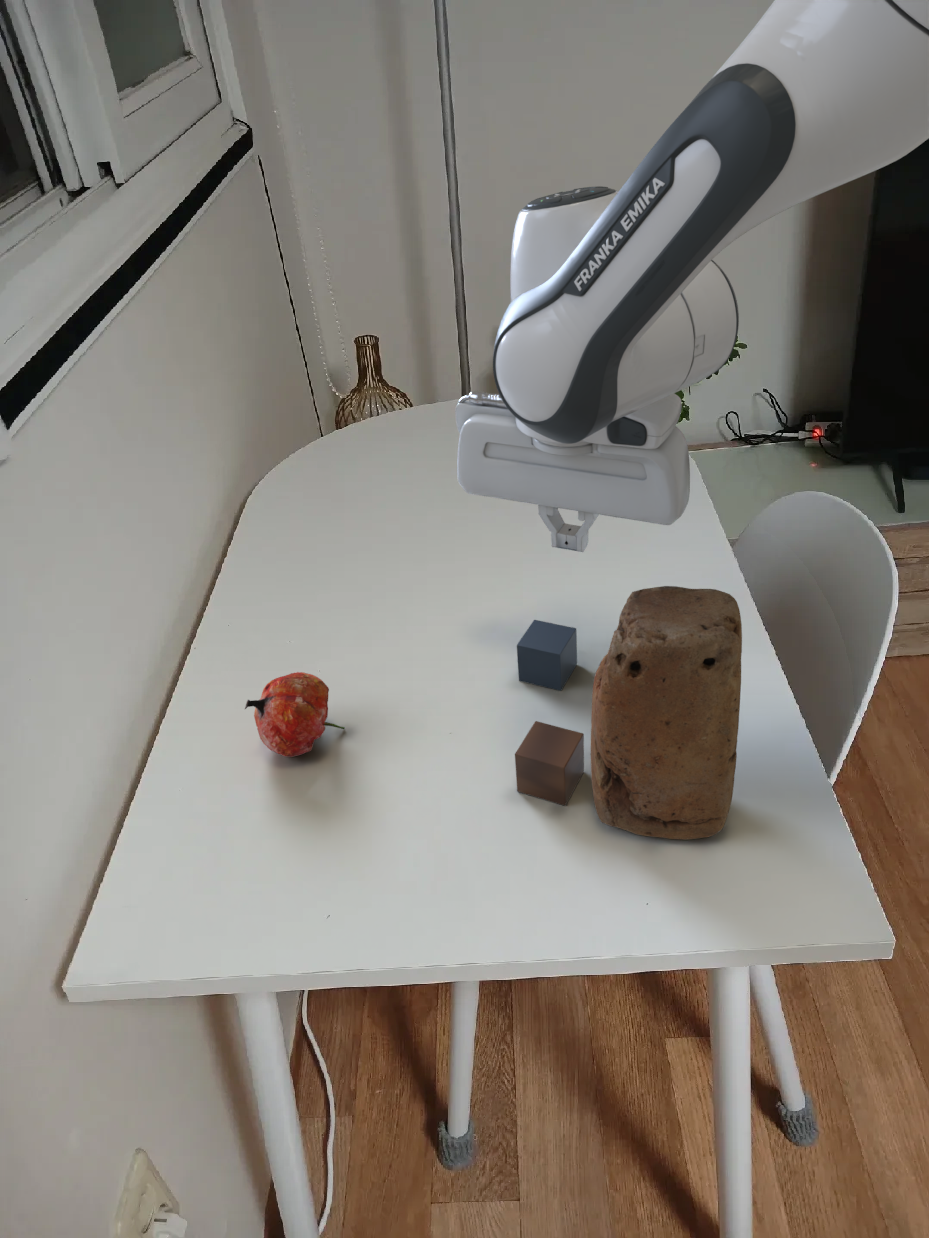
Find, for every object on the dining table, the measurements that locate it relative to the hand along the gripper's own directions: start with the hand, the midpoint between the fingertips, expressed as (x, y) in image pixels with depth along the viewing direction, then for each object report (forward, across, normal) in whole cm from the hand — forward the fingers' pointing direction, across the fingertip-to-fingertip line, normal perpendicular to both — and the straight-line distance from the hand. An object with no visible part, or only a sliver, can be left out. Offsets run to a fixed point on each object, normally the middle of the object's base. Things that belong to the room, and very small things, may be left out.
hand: (569, 546), depth 86 cm
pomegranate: (+14, -19, -18) cm, 30 cm away
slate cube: (+14, -2, -2) cm, 14 cm away
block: (+14, +13, -16) cm, 24 cm away
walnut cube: (+14, +4, -15) cm, 21 cm away
